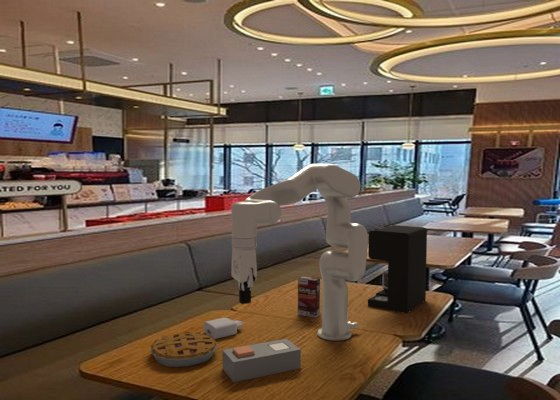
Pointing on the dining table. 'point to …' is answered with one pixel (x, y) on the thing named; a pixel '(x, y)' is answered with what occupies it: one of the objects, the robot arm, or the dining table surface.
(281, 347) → the beige plunger
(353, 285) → the dining table surface
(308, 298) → the supplement box
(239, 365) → the button box
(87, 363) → the dining table surface
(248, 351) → the terracotta plunger
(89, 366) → the dining table surface
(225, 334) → the charger
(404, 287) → the coffee maker
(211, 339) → the pie
